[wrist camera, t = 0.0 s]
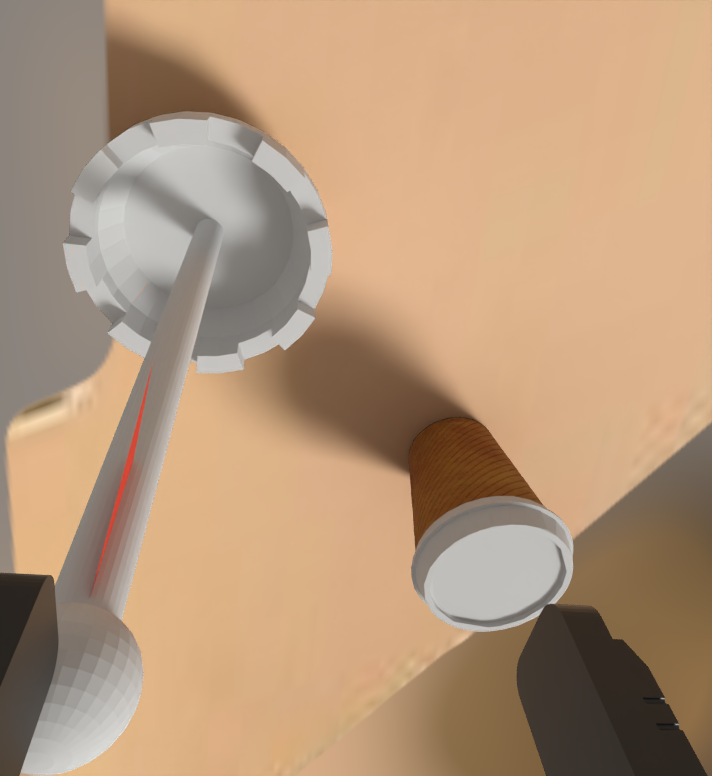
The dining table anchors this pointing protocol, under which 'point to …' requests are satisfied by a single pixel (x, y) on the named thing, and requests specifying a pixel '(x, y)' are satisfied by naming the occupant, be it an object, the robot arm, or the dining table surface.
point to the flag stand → (166, 361)
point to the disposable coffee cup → (481, 532)
